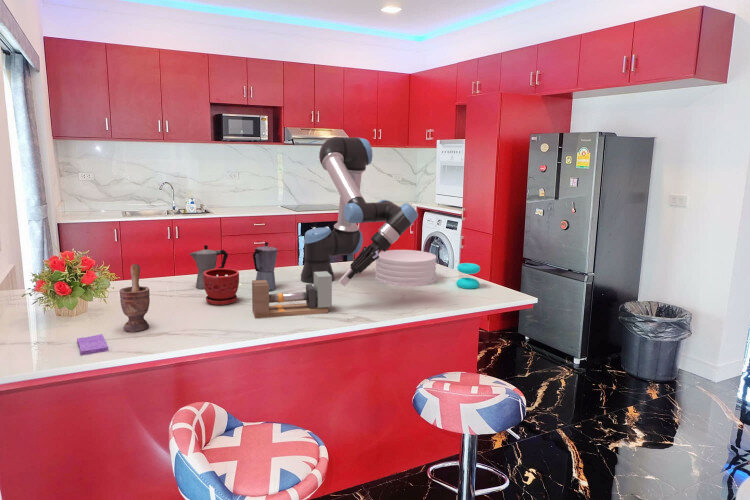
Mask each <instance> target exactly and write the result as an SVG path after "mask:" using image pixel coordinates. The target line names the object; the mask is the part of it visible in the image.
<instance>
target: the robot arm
mask: <svg viewBox="0 0 750 500" xmlns="http://www.w3.org/2000/svg"><path fill="white" fill-rule="evenodd" d="M318 157H319V163H320V164H321V167H322V169H324V171H326V172H327V173H328V175H329V176H330V179H331V181H332V182H333V184H334V186H335V187H336V188H335V189H337V192H338V194H339V205H338V215H337V222H336V223H334V224H333V230H331V228H329V227H315V228H312V229H309V230H307V231H306V232H305V233H304V241H303V243H304V264H303V267H302V270H301V274H300V281H302V282H304V283H309V284H314V272H323V271H327V272H328V273H329V274H330V275H331V276H332V282H333V281H334V280H335V274H334V273H335V272H334V270H333V268H332V264H331V257H335V256H350V255H356V254H357V253H359V254H358V255H357V256H356V257H355V258H354V260H353V261H352V262H351V263H350V268H349V269H348V270H347V271H346V272H345V273H344V274H343V275H342V276H341V277H340V279H338V282H339V283H340V284H341V285H342V286H343V287H346V286H347V284H348V283H349V282H350V281H351V280H352V279H353V278H354V277H355V276H356V275H358V274H361V273H362V272H364V271H365V270H366V269H367V268H368V267H369V266H371V265H372V263H374V262H376V259H378V258H379V256H378V254H379V253H380V252H382V251H384V252H385V251H388V249H390V248H391V246H392V244H394V243H395V242H396V241H398V240H399V238H400V237H401V236H402V235H403V234H404V233H405V231H407V230H408V229H409V228H410V227H411V226H412V225H413V224H414V222H415V221H416V219H418V217H419V213H418V212H417V210H416V209H415V208H414V207H413V206H412V205H411V204H409V203H407V202H404V203H403V204H402V205H400V206H399V205H397V204H395V203H394V202H392V201H391V200H387V199H381V200H379V201H377V202H366V200H365V199H364V197H363V194H362V193H361V183H362V174H363V173H364V172H365V171H366V170H367V169H366V168H367V166H368V165H370V164H371V163H372V161H373V149H372V146H371V143H370V142H369V140H367V139H366V138H362V137H357V136H356V137H355V136H354V137H349V136H348V137H345V136H343V137H341V136H333V137H330V138H328V139H326V140H325V141H324V142H323V144H322V145H321V147H320V150H319V155H318ZM383 222H384V223H383ZM364 223H383V225H381V226H380V227H379V228H378V231H377V232H375V233H374V234H373V235H372V237H371V238H370V240H371V241H372V243H371V244H369V245H367V246H364V247H363V248H362V246H363V243H364V240H363V238H364V237H363V233H362V230H360V227H359V226H358V225H357V224H364ZM361 248H362V250H361Z"/></svg>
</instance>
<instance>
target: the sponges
mask: <svg viewBox="0 0 750 500" xmlns="http://www.w3.org/2000/svg"><path fill="white" fill-rule="evenodd" d="M76 342H77V345H78V346H77V347H78V348H79V352H80V356H86V355H90V354H91V355H93V354H97V353H103V352H104V353H105V352H108V351H109V345H108V343H107V341H106V338H105V336H104V334H103V333H100V334H96V335H90V336H86V337H79V338H76Z"/></svg>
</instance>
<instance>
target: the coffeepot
mask: <svg viewBox="0 0 750 500" xmlns="http://www.w3.org/2000/svg"><path fill="white" fill-rule="evenodd" d="M203 248H204V249H201V250H197V251H193V252H190V253H189V256H191V257H192V259H193V260H194V261H195V263H196V264H195V265H196V268H197V269H198V272H197V276H196V277H197V278H196V282H195V288H197V289H199V290H205V288H204V281H203V273H204V272H205V271H207V270H210V269H216V267H217V261H218V256H221V255H223V257H222V261H221V266H218V267H217V268H225V266H226V263H227V259H228V257H229V254H228V252H227V251H226V250H224V249H217V250H213V249H208V248H209V245H207V244H205V245H204V246H203ZM216 276H218V275H216ZM209 284H211V283H209Z"/></svg>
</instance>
